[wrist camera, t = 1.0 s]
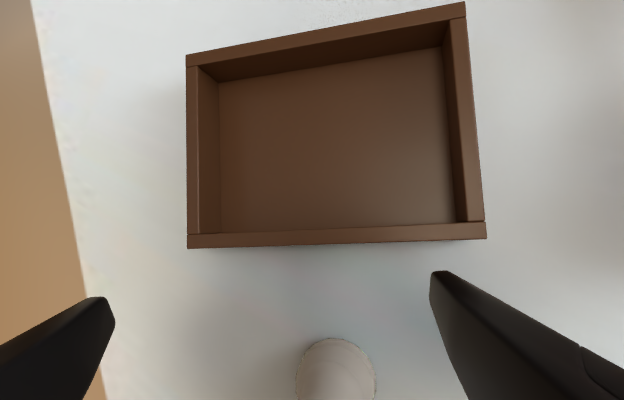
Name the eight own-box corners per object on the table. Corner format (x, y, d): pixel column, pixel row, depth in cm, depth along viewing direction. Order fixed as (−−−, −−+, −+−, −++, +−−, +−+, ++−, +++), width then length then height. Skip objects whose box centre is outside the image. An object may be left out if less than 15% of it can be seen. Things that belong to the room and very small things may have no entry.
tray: (471, 237, 18) (487, 239, 15) (215, 245, 21) (186, 248, 18) (453, 36, 19) (465, 0, 16) (212, 77, 22) (185, 54, 20)
